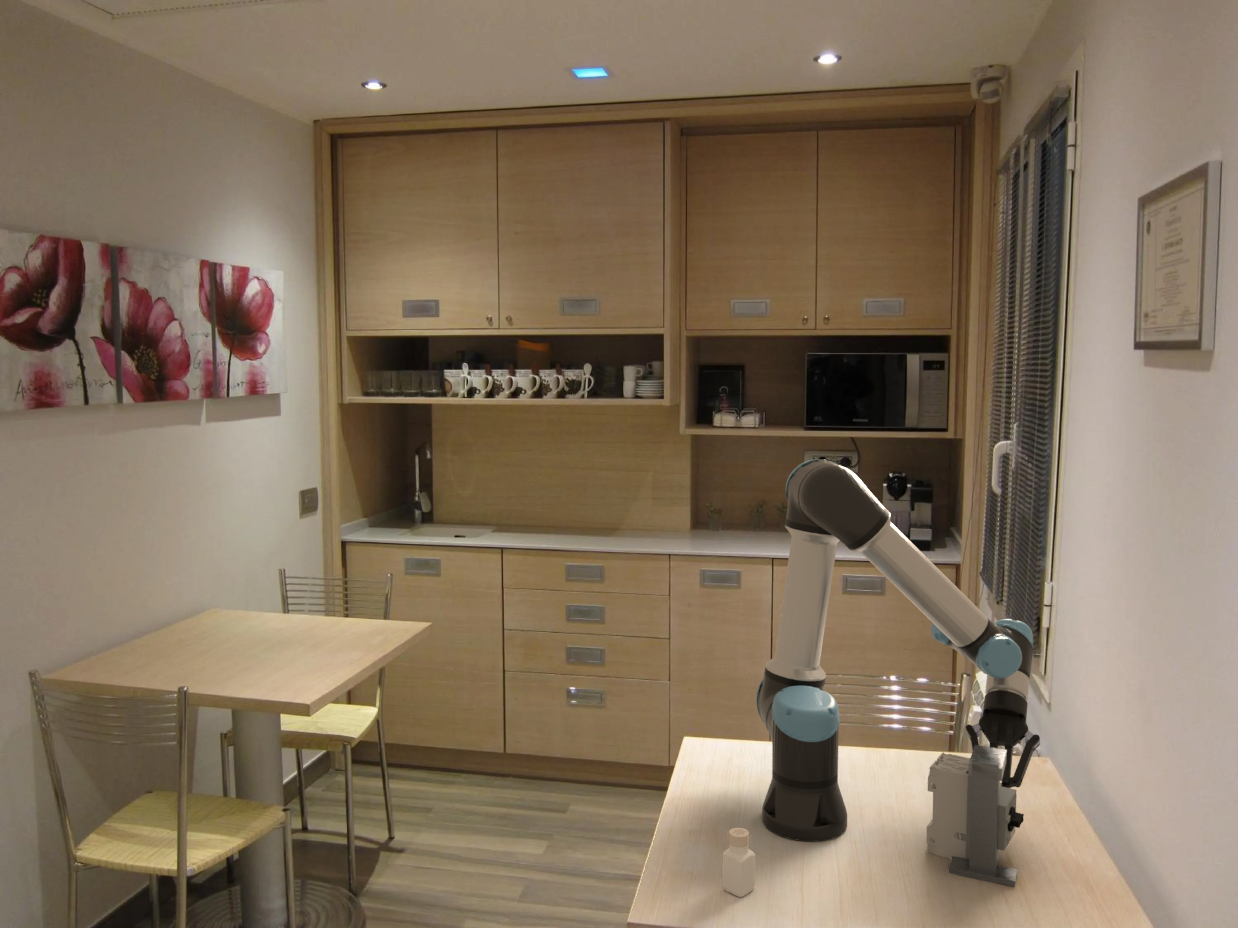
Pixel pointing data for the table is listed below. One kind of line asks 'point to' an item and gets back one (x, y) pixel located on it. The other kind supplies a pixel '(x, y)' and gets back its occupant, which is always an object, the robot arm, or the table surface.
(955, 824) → the circuit breaker
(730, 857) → the pepper shaker
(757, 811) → the table surface
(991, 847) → the bracket
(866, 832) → the table surface
